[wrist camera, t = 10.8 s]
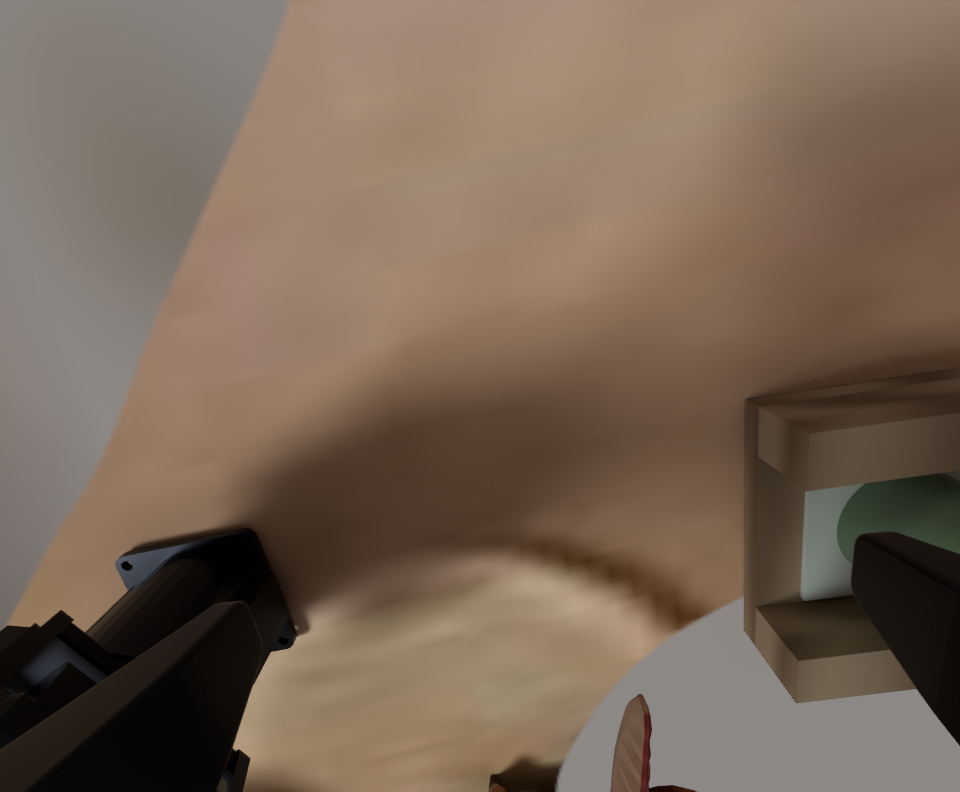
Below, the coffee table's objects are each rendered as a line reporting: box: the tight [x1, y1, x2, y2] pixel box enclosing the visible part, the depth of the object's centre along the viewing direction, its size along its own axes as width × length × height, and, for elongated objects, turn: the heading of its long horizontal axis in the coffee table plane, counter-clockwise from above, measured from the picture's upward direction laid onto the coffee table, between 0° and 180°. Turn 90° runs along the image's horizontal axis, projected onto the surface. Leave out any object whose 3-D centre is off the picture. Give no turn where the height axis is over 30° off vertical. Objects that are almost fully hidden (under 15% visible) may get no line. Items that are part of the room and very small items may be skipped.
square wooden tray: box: [744, 369, 960, 703], centre depth 19 cm, size 12×12×4 cm
